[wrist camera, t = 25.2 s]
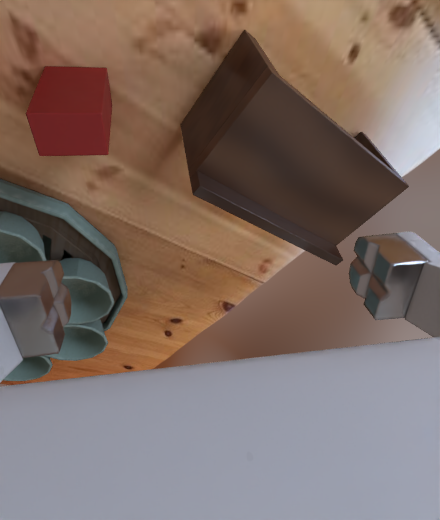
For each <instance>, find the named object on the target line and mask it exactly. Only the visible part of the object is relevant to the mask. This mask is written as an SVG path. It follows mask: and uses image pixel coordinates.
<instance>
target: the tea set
mask: <svg viewBox="0 0 440 520" xmlns="http://www.w3.org/2000/svg"><path fill="white" fill-rule="evenodd" d="M46 260H58V261H59V262H60V263H61V266H62V269H63V272H64V276H63V278H62V281H61V282H62V283H63V284H64V285H65V286H67V287H68V289H69V292H70V296H71V316H70V320H69V322H68V323H67V324H66V325H65V326H64V327H63V329H64V332H65V336H64V339H63V343H62V346H61V349H60V352H59V354H52V355H44V356H36V357H29V358H23V361H22V362H21V363H20V364H19V365H18V366H17V367H16V368H15V369H13V370H12V371H11V372H10V373H9V374H8V375H7V376H6V377H5V378H4V379H3V380H6V381H26V380H31V379H37V378H40V377H42V376H44V375H45V374H47V373H49V372H50V369H51V367H52V362H51V360H50V357H51V358H54V359H58V360H74V361H77V360H82V359H87V358H92V357H94V356H96V355H98V354H100V353H102V352H103V351H104V349H105V348H106V346H107V344H108V341H107V339H106V336H105V334H104V331H106V330H108V329H109V328H110V327H111V325H112V323H113V322H114V320H115V318H116V316H117V314H118V313H119V311H120V309H121V307H122V305H123V304H124V302H125V300H126V298H127V285H126V282H125V278H124V274H123V271H122V267H121V264H120V260H119V257H118V253H117V249H116V248H115V246H114V244H113V243H112V242H110V241H109V240H108V239H107V238H106V237H105V236H104V235H102V234H101V233H100V232H99V231H98V230H97V229H96V228H95V227H93V226H92V225H91V224H90V223H89V222H88V221H87V220H85V219H84V218H83V217H82V216H81V215H80V214H79V213H78V212H76V211H75V210H74V209H73V208H72V207H71V206H70V205H68V204H67V203H65V202H62V201H59V200H57V199H54V198H51V197H49V196H46V195H43V194H40V193H38V192H35V191H32V190H30V189H27V188H24V187H21V186H19V185H16V184H13V183H11V182H8V181H5V180H2V179H0V263H11V262H16V263H17V262H29V261H46Z"/></svg>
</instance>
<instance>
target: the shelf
mask: <svg viewBox="0 0 440 520" xmlns="http://www.w3.org/2000/svg"><path fill="white" fill-rule="evenodd" d="M180 125H181V131H182V136H183V142H184V148H185V153H186V159H187V165H188V170H189V176H190V182H191V187H192V193H193V195H195V196H197V197H199V198H201V199H203V200H205V201H207V202H209V203H211V204H213V205H215V206H217V207H219V208H221V209H223V210H225V211H227V212H229V213H231V214H233V215H235V216H237V217H239V218H241V219H243V220H245V221H247V222H249V223H251V224H253V225H255V226H257V227H259V228H261V229H263V230H265V231H267V232H269V233H271V234H273V235H275V236H277V237H279V238H281V239H283V240H286V241H288V242H290V243H292V244H294V245H296V246H298V247H300V248H302V249H304V250H306V251H308V252H310V253H312V254H314V255H316V256H318V257H320V258H322V259H324V260H326V261H328V262H330V263H332V264H334V265H337V264H339V263H340V262H341V261H343V259H342V257H341V255H340V253H339V251H338V249H337V247H336V245H337V244H339V243H340V242H341V241H342V240H344V239H345V238H346V237H347V236H349V235H350V234H351V233H352V232H354V231H355V230H356V229H357V228H358V227H360V226H361V225H362V224H363V223H365V222H366V221H367V220H368V219H370V218H371V217H372V216H373V215H375V214H376V213H377V212H378V211H379V210H381V209H382V208H383V207H384V206H386V205H387V204H388V203H389V202H390V201H392V200H393V199H394V198H396V197H397V196H398V195H399V194H401V193H402V192H403V191H404V190H405V189H407V188H408V187H409V186H408V185H407V183H406V182H405V181H404V180H403V179H402V177H401V176H400V175H399V174H398V173H397V171H396V170H395V169H394V168H393V167H392V165H391V164H390V163H389V162H388V161H387V159H386V158H385V157H384V156H383V155H382V153H381V152H380V151H379V150H378V149H377V147H376V146H375V145H374V144H373V143H372V141H371V140H370V139H369V138H368V137H367V136H366V135H365V134H364V133H363V132H361V133H360V134H359V135H358V136H357V137H356V138H353V137H352V136H351V135H350V134H349V133H347V132H346V131H345V130H344V129H343V128H341V127H340V126H339V125H338V124H337V123H336V122H334V121H333V120H332V119H331V118H330V117H328V116H327V115H326V114H325V113H324V112H322V111H321V110H320V109H319V108H318V107H316V106H315V105H314V104H313V103H312V102H311V101H309V100H308V99H307V98H306V97H305V96H303V95H302V94H301V93H300V92H299V91H297V90H296V89H295V88H294V87H293V86H291V85H290V84H289V83H288V82H287V81H285V80H284V79H283V78H282V77H281V76H280V75H279V74H278V72H277V71H276V69H275V68H274V66H273V65H272V63H271V62H270V60H269V59H268V57H267V56H266V54H265V53H264V51H263V50H262V48H261V47H260V45H259V44H258V42H257V41H256V39H255V38H254V37H253V36H252V35H250V34H249V33H248V32H247V31H246V30H244V31H243V33H242V34H241V36H240V37H239V39H238V40H237V42H236V43H235V45H234V46H233V48H232V49H231V51H230V52H229V53H228V55H227V56H226V58H225V59H224V61H223V62H222V64H221V65H220V67H219V68H218V70H217V71H216V73H215V74H214V76H213V77H212V79H211V80H210V81H209V83H208V84H207V86H206V87H205V89H204V90H203V92H202V93H201V95H200V96H199V98H198V99H197V101H196V102H195V104H194V105H193V106H192V108H191V109H190V111H189V112H188V114H187V115H186V117H185V118H184V120H183V121H182V123H181V124H180Z"/></svg>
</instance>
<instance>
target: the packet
mask: <svg viewBox="0 0 440 520" xmlns="http://www.w3.org/2000/svg"><path fill="white" fill-rule="evenodd" d="M111 114H112V101H111V93H110V86H109V79H108V72H107V68H93V67H48V66H45V68H44V70H43V73H42V75H41V77H40V80H39V82H38V85H37V87H36V90H35V92H34V95H33V97H32V99H31V102H30V104H29V107H28V109H27V112H26V116H27V119H28V122H29V125H30V128H31V131H32V134H33V138H34V141H35V144H36V147H37V150H38V153H39V156H72V155H108V152H109V139H110V127H111Z"/></svg>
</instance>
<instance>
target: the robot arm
mask: <svg viewBox="0 0 440 520" xmlns="http://www.w3.org/2000/svg"><path fill="white" fill-rule="evenodd" d="M354 252H355V253H356V255H357V257H356V258H355V259H354V260H353V261H352V263H351V264H350V270H349V279H350V284H351V286H352V289H353V290H354V291H355V293H356V294H357V295H359V296H361V297H363V298H365V302H364V305H365V307H366V308H367V309H368V311H369V312H370V314H371V315H372V316H373V318H374V319H375V320H383V319H395V318H405V320H407V321H409V322H410V323H412V324H414V325H415V326H417V327H418V328H420V329H421V330H423V331H424V332H426V333H428V334H429V335H431V336H432V337H433V338H424V339H415V340H406V341H399V342H389V343H380V344H371V345H363V346H354V347H346V348H336V349H328V350H319V351H310V352H302V353H293V354H284V355H276V356H266V357H257V358H248V359H240V360H232V361H222V362H213V363H204V364H195V365H187V366H179V367H170V368H161V369H151V370H143V371H134V372H125V373H116V374H107V375H99V376H90V377H81V378H72V379H63V380H54V381H46V382H37V383H28V384H19V385H10V386H3V387H0V520H440V253H439V252H438V251H437V250H435V249H434V248H433V247H432V246H431V245H429V244H428V243H427V242H425V241H424V240H423V239H422V238H420V237H419V236H418V235H417V234H415V233H414V232H401V233H392V234H382V235H372V236H363V237H359V238H358V239H357V241H356V243H355V247H354ZM63 276H64V272H63V269H62V266H61V263H60V262H59V261H58V260H46V261H29V262H17V263H16V262H11V263H0V382H1V381H2V380H3V379H4V378H5V377H6V376H7V375H8V374H9V373H10V372H11V371H12V370H13V369H15V368H16V367H17V366H18V365H19V364H20V363H21V362H22V361H23V358H29V357H36V356H44V355H52V354H59V352H60V349H61V346H62V343H63V339H64V336H65V332H64V329H63V327H64V326H65V325H66V324H67V323H68V322H69V320H70V316H71V296H70V292H69V289H68V287H67V286H65V285H64V284H63V283H62V282H61V281H62V278H63Z"/></svg>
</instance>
